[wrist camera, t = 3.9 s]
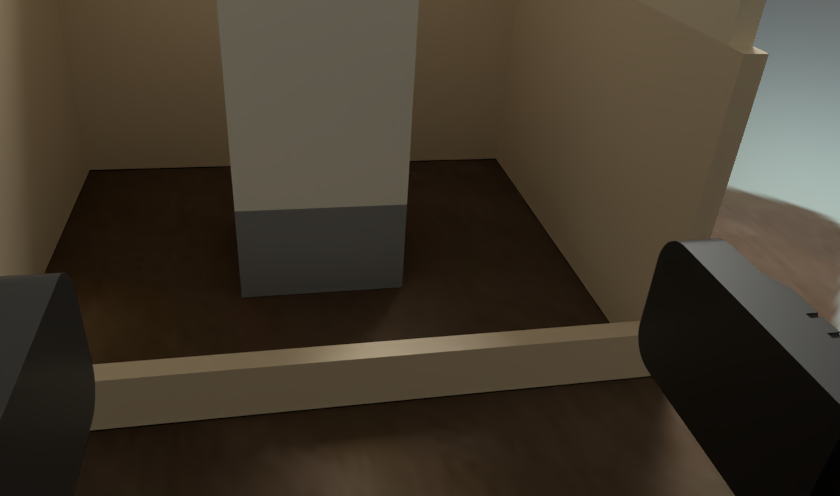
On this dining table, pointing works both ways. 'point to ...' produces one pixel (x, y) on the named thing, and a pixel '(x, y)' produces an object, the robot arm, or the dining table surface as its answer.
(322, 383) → the storage bin
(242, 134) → the box
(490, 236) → the dining table surface
